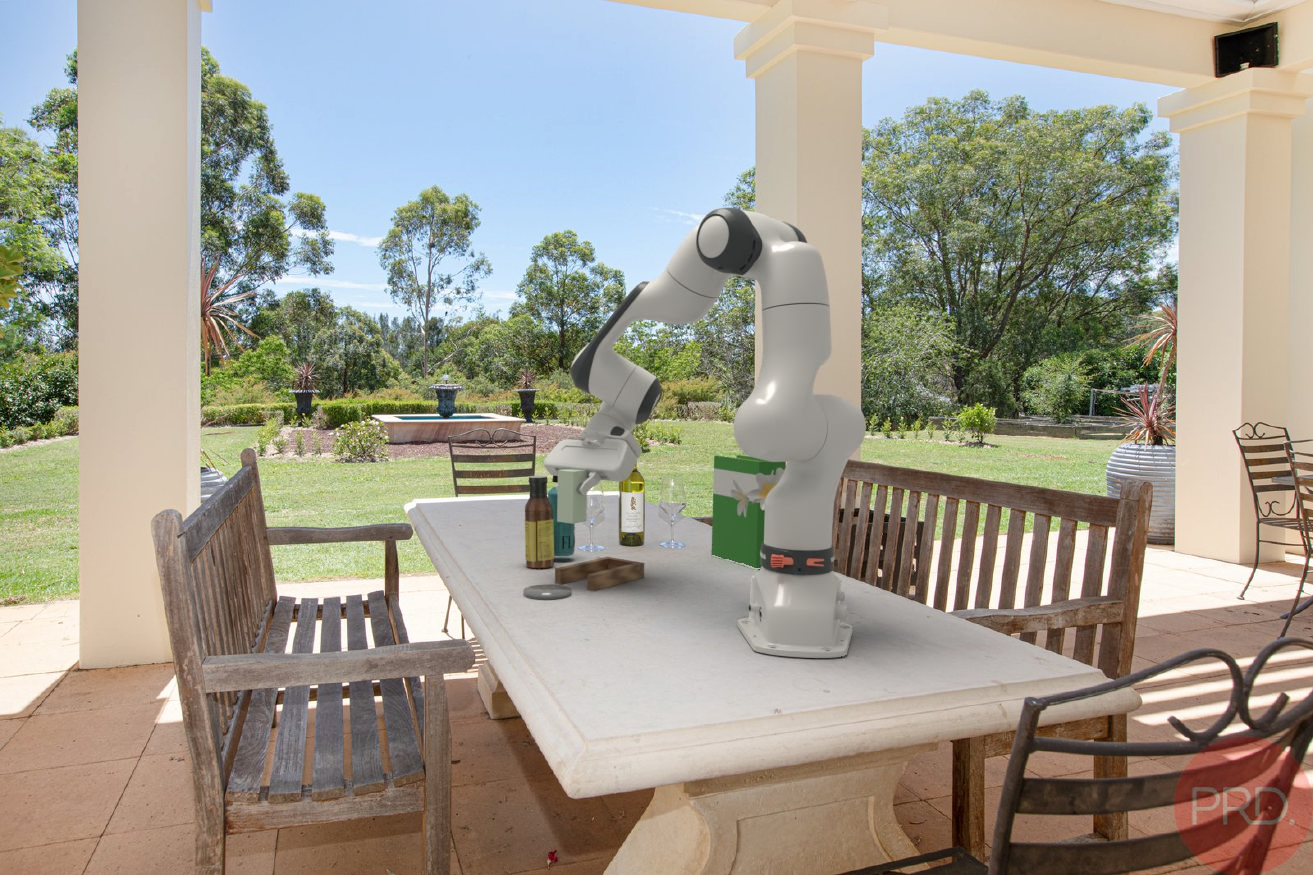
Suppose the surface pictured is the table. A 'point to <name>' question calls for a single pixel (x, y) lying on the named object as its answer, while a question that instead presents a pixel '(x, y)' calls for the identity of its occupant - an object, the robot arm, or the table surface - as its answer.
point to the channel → (601, 572)
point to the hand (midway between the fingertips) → (569, 491)
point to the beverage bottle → (561, 528)
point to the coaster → (547, 592)
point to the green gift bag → (728, 528)
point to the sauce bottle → (539, 525)
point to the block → (571, 496)
